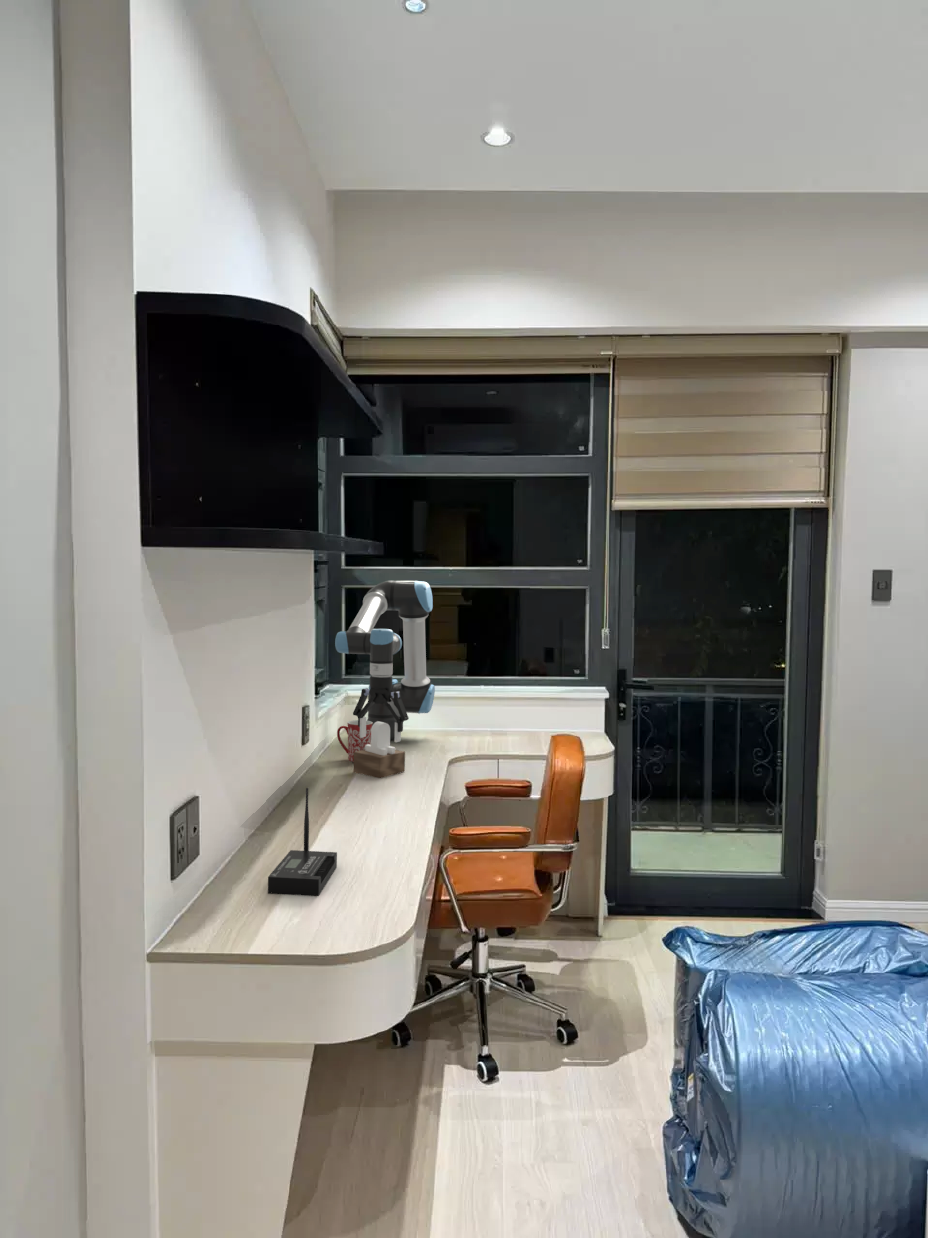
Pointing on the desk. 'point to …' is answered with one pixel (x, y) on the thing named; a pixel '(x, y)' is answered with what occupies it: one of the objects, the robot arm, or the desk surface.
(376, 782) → the desk surface
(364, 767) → the walnut block
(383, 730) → the cable organizer
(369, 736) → the mug
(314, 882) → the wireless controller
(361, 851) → the desk surface
